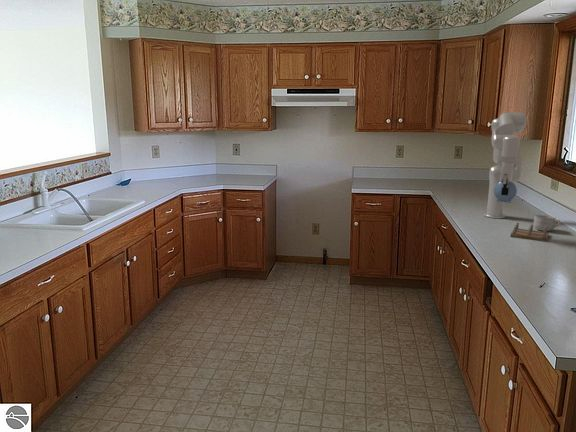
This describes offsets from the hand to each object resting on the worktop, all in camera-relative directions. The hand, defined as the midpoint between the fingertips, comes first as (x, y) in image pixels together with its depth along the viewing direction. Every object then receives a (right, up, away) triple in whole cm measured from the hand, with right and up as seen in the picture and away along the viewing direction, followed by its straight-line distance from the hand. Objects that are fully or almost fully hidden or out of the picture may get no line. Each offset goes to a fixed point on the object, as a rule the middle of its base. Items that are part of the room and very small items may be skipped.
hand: (505, 194), depth 260 cm
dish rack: (+12, -22, -2) cm, 26 cm away
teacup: (+27, -20, +10) cm, 35 cm away
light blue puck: (0, -4, +1) cm, 4 cm away
